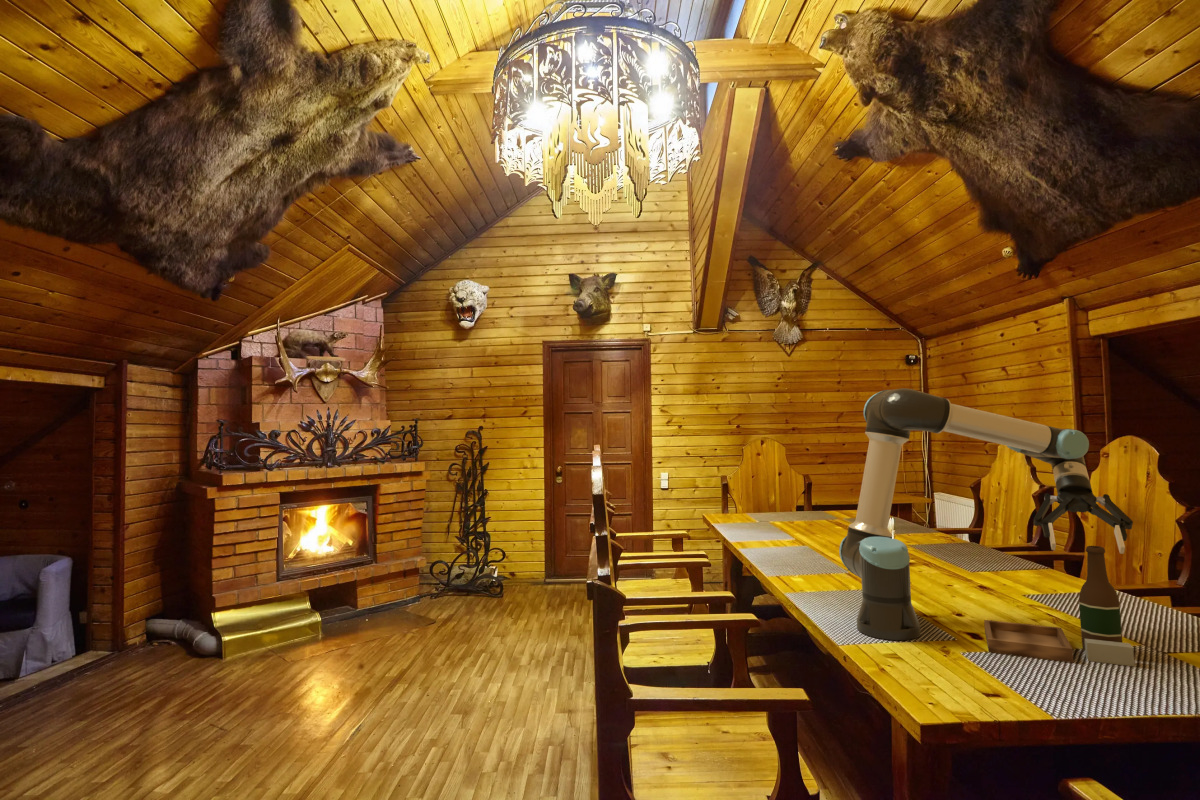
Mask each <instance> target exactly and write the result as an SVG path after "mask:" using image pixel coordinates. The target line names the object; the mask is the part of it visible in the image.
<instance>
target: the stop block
mask: <svg viewBox="0 0 1200 800" xmlns="http://www.w3.org/2000/svg"><path fill="white" fill-rule="evenodd" d="M1084 640H1085V650H1084V652H1085V653H1084V654H1085V657H1086V660H1087V661H1088V662H1094V663H1103V664H1110V665H1120V666H1128V667H1136V665H1135V655H1134V654H1135V653H1134V652H1135V651H1134V647H1133V645H1132V644H1131V643H1130V642H1129V643H1128V642H1122V643H1121V642H1112V641H1103V640H1093V639H1084Z"/></svg>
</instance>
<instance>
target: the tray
mask: <svg viewBox="0 0 1200 800" xmlns="http://www.w3.org/2000/svg"><path fill="white" fill-rule="evenodd" d="M983 623H984V633H985V638H986V645H987V649H988V653H992V654H993V653H994V654H1001V655H1011V656H1018V657H1025V658H1033V659H1041V660H1049V661H1050V660H1051V661H1057V662H1066V663H1074V662H1075V661H1074V651H1073V647H1072V645H1071V643H1070V642H1069V640H1068V638H1067V635H1065V632H1064V631H1063V629H1062V627H1059V626H1051V625H1050V626H1048V625H1041V624H1040V625H1039V624H1038V625H1037V624H1029V623H1028V624H1027V623H1019V622H1010V621H1001V620H1000V621H998V620H992V619H991V620H989V619H984V622H983Z"/></svg>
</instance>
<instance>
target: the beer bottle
mask: <svg viewBox="0 0 1200 800" xmlns="http://www.w3.org/2000/svg"><path fill="white" fill-rule="evenodd" d="M1085 552H1086V553H1087V555H1086V557H1087V558H1086V559H1087V560H1086V561H1087V562H1086V563H1087V565H1086V566H1087V567H1086V572H1087V573H1086V574H1087V575H1086V580H1085V582H1084V583H1083V584H1082V586H1081V589H1080V591H1079V593H1078V604H1079V606H1078V608H1079V618H1080V635H1081V645H1082V649H1083V650H1084V651H1085V640H1084V639H1093V640H1103V641H1112V642H1121V643H1123V634H1122V632H1123V631H1122V630H1123V629H1122V618H1121V607H1120V606H1121V605H1120V598H1119V595H1118V593H1117V591H1116V589H1115V588H1114V586H1113V585H1112V584H1111V582H1110V580H1109V577H1108V573H1107V566H1106V565H1107V564H1106V560H1105V553H1106V549H1105V547H1104V546H1100V545H1087V546H1086V547H1085Z"/></svg>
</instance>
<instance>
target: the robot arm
mask: <svg viewBox="0 0 1200 800" xmlns="http://www.w3.org/2000/svg"><path fill="white" fill-rule="evenodd" d="M863 407H864V408H863V417H864V418H863V419H864V420H865V422H866V426H865V432H864V434H865V435H866V436H867V438H868V440H869V442H868V448H867V452H866V458H865V463H864V470H863V475H862V481H861V487H860V493H859V499H858V503H857V510H856V517H855V520H854V521H853V522H852V523H850V524H848V528H847V534H846V536H845V537H844V538H843V539H842V540H841V541H840V544H839V557H840V560H841V562H842V564H843V565H844V567H846V569H847V570H848V571H849V572H850V573H852V574H854V575H855V576H857V577H858V578H860V579H861V593H862V600H861V603H860V607H859V610H858V614H857V617H856V629H857V631H859V632H860V633H861V634H863V635H866V636H869V637H872V638H878V639H882V640H890V641H891V640H892V641H905V640H906V641H908V640H913V639H917V638H918V637H920V636H921V623H920V621H919V619H918V616H917V614H916V612H915V609H914V606H913V603H912V594H911V593H912V591H911V590H912V589H911V571H910V569H911V568H910V555H909V548H908V546H907V545H906V544H905V543H904V542H903V541H901V540H899V539H896V538H893V533H891V531H890V530H889V523H890V522H889V521H890V517H891V510H892V505H893V499H894V493H895V487H896V481H897V476H898V470H899V465H900V458H901V454H902V453H901V452H902V447H903V445H904V444H906V443H907V442H909V441H910V435H911V432H912V431H919V432H921V431H922V432H929V433H933V434H940V433H942V432H946V433H951V434H954V435H958V436H962V437H967V438H970V439H971V438H972V439H975V440H976V439H977V440H981V441H985V442H988V443H992V444H993V443H995V444H999V445H1002V446H1006V447H1007V448H1008V449H1010V450H1012V451H1014V452H1016V453H1020V454H1022V455H1025V456H1028V457H1030V458H1034V459H1037V460H1039V461H1041V462H1044V463H1047V464H1049V465H1050V466H1051V469H1052V472H1053V477H1054V479H1053V480H1054V482H1055V488H1056V492H1057V493H1056V494H1057V495H1051V494H1050V493H1049V492H1046V493H1045V494H1044V498H1043V499H1044V500H1043V502H1042V503H1041V505H1040V507H1039V508H1038V510H1037V511H1036V514H1035V515H1034V517H1033V526H1035V527H1038V526H1039V527H1041V529H1042V532H1043V537H1044V538H1048V539H1049V543H1050V549H1051V551H1056V547H1057V546H1056V545H1057V543H1056V538H1055V532H1054V527H1053V526H1054V525H1053V523H1055V521H1057V520H1058V519H1059V518H1060V517H1061V516H1062V515H1065V514H1066V513H1067V512H1068V511H1069V512H1071V513H1084V514H1085V513H1087V512H1088V513H1089V514H1091V515H1093V516H1096V517H1097V518H1099V519H1100V520H1102V521H1103V522H1105V523H1106V524H1108V525H1109V526H1110V527H1112V528H1114V530H1113V533H1114V537H1115V540H1116V544H1117V548H1118V551H1119V554H1122V555H1123V554H1124V555H1125V550H1126V545H1125V542H1127V539H1128V534H1127V530H1133V529H1132V528H1133V524H1134V521H1133V520H1132V519H1131V518H1130V517H1129V516H1128V515H1127V514H1126V513H1125V512H1124V511H1123V510H1122V509H1121V508H1120V507H1119V506H1118V505H1116V504H1115V502H1113V501H1112V499H1111V496H1110V495H1109V494H1107V493H1105V494H1102V496H1096V495H1095V494H1094V492H1093V487H1092V485H1091V482H1090V477H1089V473H1088V470H1087V465H1086V461H1085V457H1084V456H1085V455H1086V454H1087V453H1088V451H1089V448H1090V441H1089V438H1088V437H1087V435H1086V434H1085V433H1083V432H1082V431H1080V430H1078V429H1077V430H1076V429H1071V428H1066V429H1065V428H1058V427H1054V426H1049V425H1046V424H1041V423H1037V422H1032V421H1028V420H1024V419H1019V418H1015V417H1011V416H1007V415H1002V414H998V413H994V412H989V411H986V410H980V409H976V408H972V407H968V406H963V405H959V404H955V403H951V401H950V399H948V398H946V397H942V396H937V395H934V394H930V393H926V392H923V391H919V390H916V389H913V388H905V387H904V388H896V389H886V390H881V391H879V392H876V393H875V394H873V395H872V396H870V397H869V398H868V399H867V401H866V402H865V404H864V406H863ZM1054 502H1057V503H1058V504H1059V505H1058V506H1056V507H1055V509H1053V510H1052V511H1051V512H1050V513H1048V514H1046V513H1047V512H1048V510H1049V509H1050V506H1051V505H1053V504H1054ZM1098 503H1099V504H1100V505H1101V506H1103V507H1105V509H1106V510H1105V509H1104V508H1102V507H1101V506H1099V504H1098ZM1045 515H1046V516H1045Z"/></svg>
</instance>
